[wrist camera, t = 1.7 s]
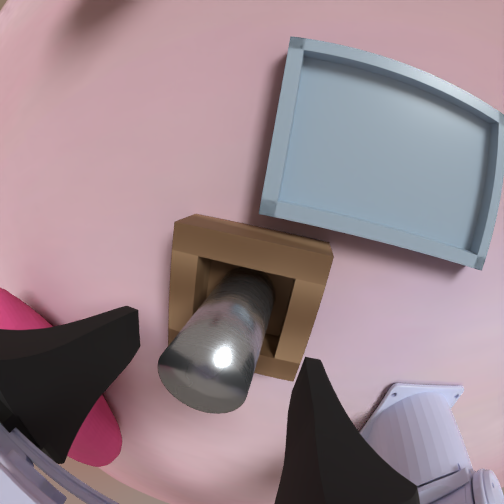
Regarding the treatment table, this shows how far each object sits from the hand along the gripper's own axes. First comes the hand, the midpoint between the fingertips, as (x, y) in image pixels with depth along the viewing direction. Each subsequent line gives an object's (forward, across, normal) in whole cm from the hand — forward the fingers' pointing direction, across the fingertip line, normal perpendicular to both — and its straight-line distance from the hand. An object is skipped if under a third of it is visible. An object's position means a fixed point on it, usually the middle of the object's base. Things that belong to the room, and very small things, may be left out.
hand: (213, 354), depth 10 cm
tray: (+7, -7, -10) cm, 14 cm away
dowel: (+6, 0, 0) cm, 6 cm away
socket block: (+7, 0, 0) cm, 7 cm away
